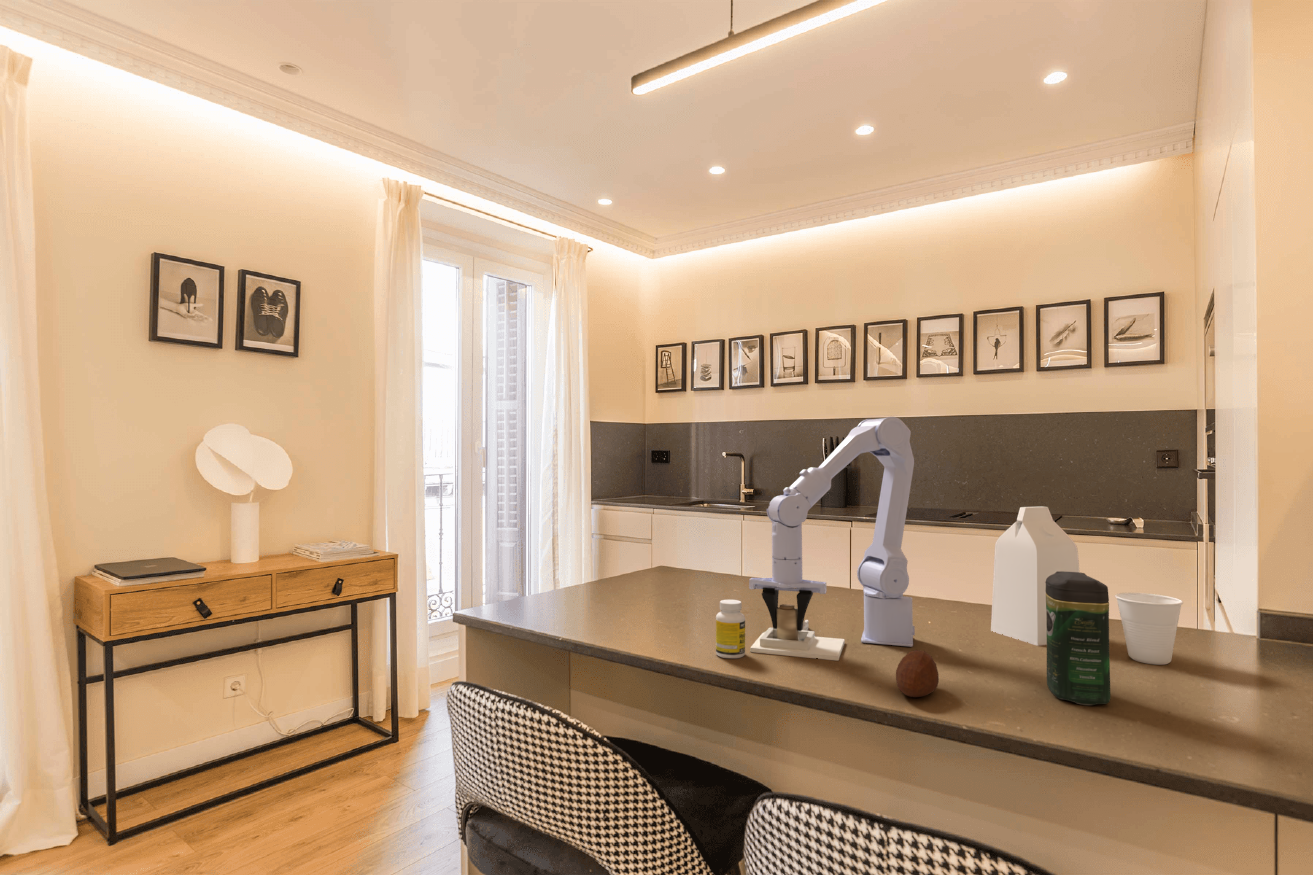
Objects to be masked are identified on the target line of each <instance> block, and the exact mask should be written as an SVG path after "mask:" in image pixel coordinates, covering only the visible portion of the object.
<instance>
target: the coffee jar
mask: <svg viewBox="0 0 1313 875" xmlns="http://www.w3.org/2000/svg"><path fill="white" fill-rule="evenodd" d="M1045 583H1046V590H1045V591H1046V620H1047V645H1046V685H1047V687H1048V689H1049V691H1050V692H1051V694H1053V696H1055V697H1056V698H1057V699H1059V700H1064V701H1065V700H1066V701H1069V702H1073V703H1075V704H1077V705H1083V706H1094V705H1107V704H1108V703H1110V701H1111V665H1110V663H1111V662H1110V659H1111V658H1110V655H1111V654H1110V599H1109V598H1110V596H1109V589H1108V588H1109V587H1108V586H1107V585H1106V584H1105V583H1103V582H1101V581H1099V580H1097V579H1095V578H1093V577H1091V576H1088V575H1087V574H1086V573H1084V572H1080V571H1079V572H1064V571H1057V572H1056V573H1055V574H1052V575H1050V576H1049V577H1047V579H1046V582H1045Z"/></svg>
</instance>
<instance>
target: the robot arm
mask: <svg viewBox="0 0 1313 875" xmlns="http://www.w3.org/2000/svg"><path fill="white" fill-rule="evenodd" d="M911 433H912V431H911V430H910V429H909V427H908V425H906V424H905V423H904V421H903V420H901V418H898V417H895V416H888V417H884V418H866V419H863V420H862V421H860V422H859V423H858V425H857V426H856V427H855V426H854V427H853V428H852V429H851V430H850V431H849V433H848V435H847V436H846V437H845V438H844V439H843V440H842V441H841V443H839V445H838V446H836V448H834V450H833V451H832V452H831V453H830V454H829V455H828V456H827V458H825V459H824V461H823V462H822V463H821V464H820V465H819V466H818V467H814V466H813V467H812V466H811V467H808V468H807V469H805V468H804V469H803V468H802V470H801V471H800V472H799V474H798V475H800V476H799V477H798V478H797V479H796V480H795V481H794V482H792V484H791V485H789V486H788V487H784V489H782V492H783V494H780V495H777V496H774V497H773V498H772V499H771V501H769V505H768V508H766V514H767V517H768V520H770V521H771V565H772V566H771V575H772V577H751V578H749V579H748V580H749V581H748V585H749V586H748V587H749V590H762V593H761V597H762V599H763V601H764V603H765V605H766V607H767V609H768V613H769V615H770V619H771V622H772V623H771V625H772V628H773V629H777V608H778V607H779V593H780V592H779V591H786V592H798V593H797V594H796V604H797V605H796V606H797V607H796V608H797V609H798V619H797V631H802V629H803V623H804V621H805V620H804V619H805V616H806V613H807V610H808V607H809V604H810V602H811V600H812V597H813V595H814V594H817V593H818V594H820V595H826V593H827V581H819V580H810V579H809V580H808V579H803V533H802V532H803V531H802V530H803V528H802V526H803V525H802V524H803V523H804V522H806V521H807V518H808V512H809V510H810V509H812V507H813V506H815V504H817V503H818V501H819V500H821V499H822V497H824V496H825V494H827V492H829V491H830V490H831V488H832V479H833V478H834V477H835V476H836V475H838V474H839V473H840V472H841V471H842V470H844V469H845V468H846V467H847V465H849V464H850V463H852V462H853V460H854V459H856V458H857V457H858V456H859V455H861V454H865V453H870V454H872V455H873V456H874V457H876V458H877V459H878V461H879V462H880V463H881V465H882V466H883V467H884V469H883V474H882V475H883V476H882V482H881V488H880V494H879V500H878V507H877V513H876V518H875V524H874V525H875V526H874V530H873V538H872V542H871V544H870V545H869V546H868V547H867V548H866V549H865V551H864V554H863V557H862V558H863V559H862V560H861V562H860V563H859V564H858V567H857V570H856V575H857V580H858V582H859V583H860V585H862V588H863V590H862V591H863V623H864V624H863V626H864V627H863V631H862V635H861V638H860V642H861V643H863V644H864V643H865V644H866V643H867V644H876V645H889V646H891V645H892V646H899V647H900V646H901V647H911V648H912V647H914V636H915V634H916V633H915V632H916V631H915V628H916V627H915V625H914V624H913V623H914V622H913V619H914V618H913V616H914V615H913V597H911V596H904V593H905V592H906V591H907V589H908V587H909V585H910V583H909V582H910V577H909V572H908V562H909V561H908V558H907V557H906V555H905V553H904V552H903V551H902V544H903V543H902V542H903V537H904V530H905V524H906V517H907V512H908V505H909V499H910V498H909V497H910V494H911V493H910V492H911V487H912V481H913V480H912V479H913V475H914V474H913V473H914V466H915V458H914V454H913V450H912V446H911V442H910V440H911Z"/></svg>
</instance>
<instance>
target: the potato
mask: <svg viewBox="0 0 1313 875" xmlns="http://www.w3.org/2000/svg"><path fill="white" fill-rule="evenodd" d="M895 670H896V671H895V677H896V678H895V679H896V686H897V688H898V690H899V691H900V692H901V694H903V695H905V696H907V697H909V698H921V697H926V696H928V695H929V694H932V692H935V691H936V689H937V688H938V686H939V681H940V680H939V677H940V676H939V670H938V667H937V663H936V662H935V661H934V659H933V656H931V654H929V653H928V652H926V651H925V650H920V649H916V650H915V649H914V650H911V651H909V652H907V654H905V655H904V656H903V657H902V658H901V660H900V661H899V663H898V664H897V668H896V669H895Z"/></svg>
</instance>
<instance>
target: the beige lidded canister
mask: <svg viewBox="0 0 1313 875" xmlns="http://www.w3.org/2000/svg"><path fill="white" fill-rule="evenodd" d="M797 619H798V608H797V607H795V605H794V604H791V603H790V604H787V603H784V604H783V603H781V604H779V606H778V608H777V639H783V640H794V641H798V631H797Z"/></svg>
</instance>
